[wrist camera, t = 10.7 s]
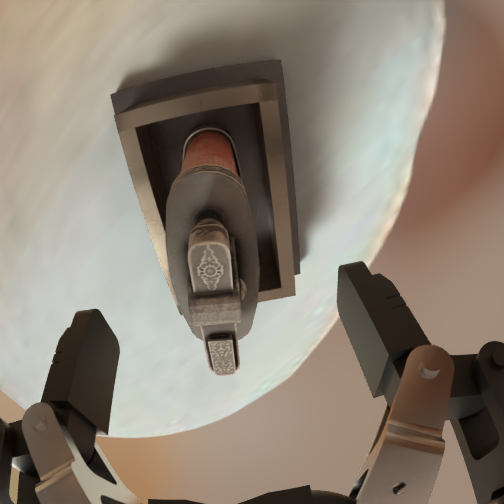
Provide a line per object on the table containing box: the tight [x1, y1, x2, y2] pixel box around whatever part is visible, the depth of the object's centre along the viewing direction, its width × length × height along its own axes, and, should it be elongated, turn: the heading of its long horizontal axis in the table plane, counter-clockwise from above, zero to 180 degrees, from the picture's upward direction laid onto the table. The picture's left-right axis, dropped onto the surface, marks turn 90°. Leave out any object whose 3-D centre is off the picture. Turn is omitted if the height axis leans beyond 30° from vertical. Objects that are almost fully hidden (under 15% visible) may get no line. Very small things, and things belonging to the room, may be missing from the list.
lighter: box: [165, 125, 260, 376], centre depth 14 cm, size 8×3×10 cm, turn 1°
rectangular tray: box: [110, 60, 300, 315], centre depth 17 cm, size 9×14×4 cm, turn 8°
